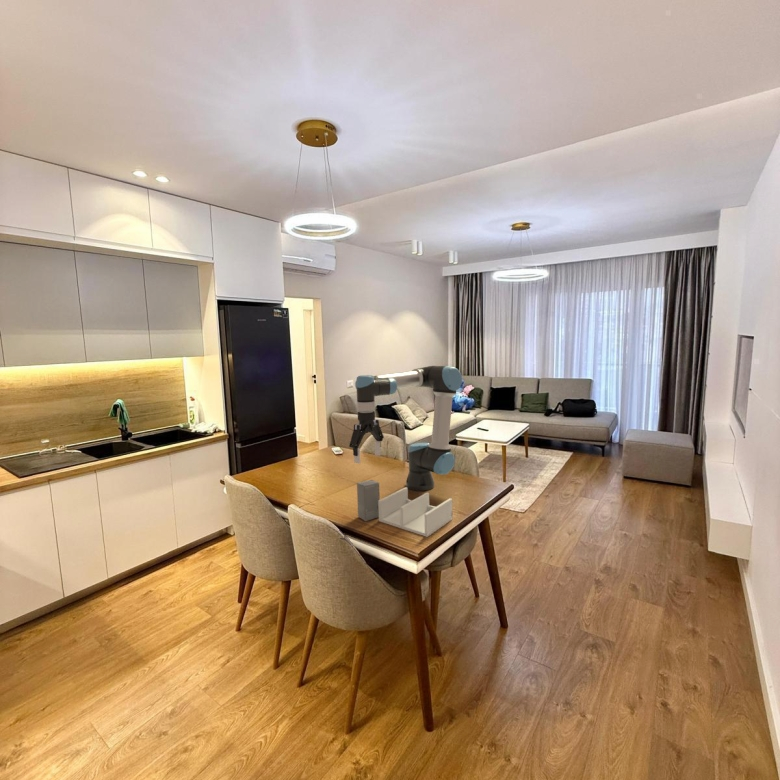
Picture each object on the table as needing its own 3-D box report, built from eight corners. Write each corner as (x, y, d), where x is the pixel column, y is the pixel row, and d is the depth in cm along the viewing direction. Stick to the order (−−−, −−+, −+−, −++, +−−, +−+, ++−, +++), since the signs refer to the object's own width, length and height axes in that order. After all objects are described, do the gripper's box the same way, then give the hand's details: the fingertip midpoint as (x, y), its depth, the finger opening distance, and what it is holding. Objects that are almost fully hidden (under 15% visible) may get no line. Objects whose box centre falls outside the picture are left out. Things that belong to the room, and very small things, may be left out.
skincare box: (365, 522, 176) (364, 486, 174) (356, 516, 182) (355, 482, 180) (381, 516, 181) (380, 482, 179) (372, 511, 187) (371, 478, 185)
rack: (405, 505, 192) (405, 487, 191) (452, 519, 177) (452, 498, 176) (378, 521, 177) (378, 500, 176) (427, 536, 161) (427, 514, 160)
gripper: (377, 406, 188) (379, 451, 190) (339, 414, 168) (341, 464, 171) (390, 407, 183) (391, 453, 186) (352, 416, 164) (354, 467, 166)
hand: (367, 459), depth 178 cm, fingers open, 13 cm apart
